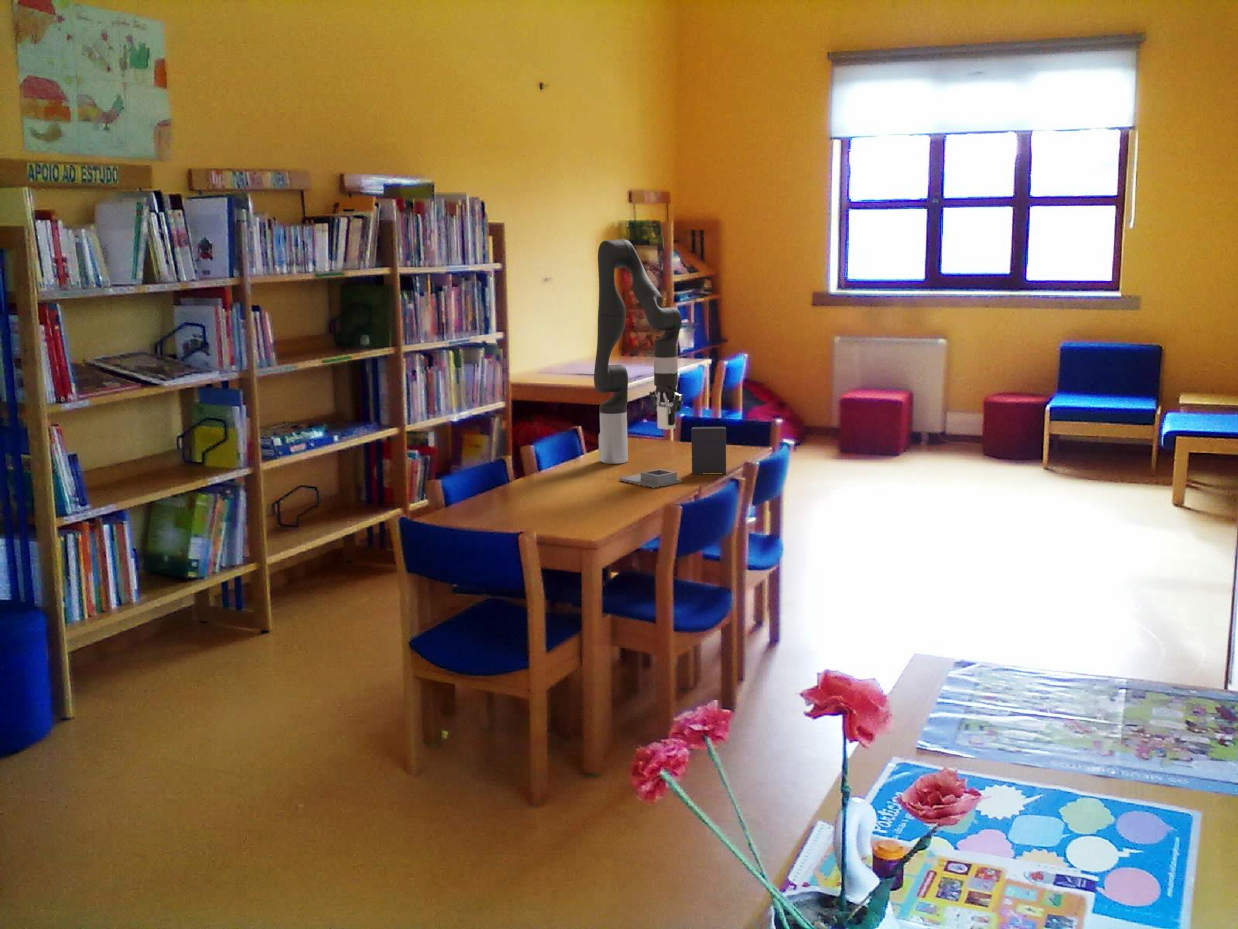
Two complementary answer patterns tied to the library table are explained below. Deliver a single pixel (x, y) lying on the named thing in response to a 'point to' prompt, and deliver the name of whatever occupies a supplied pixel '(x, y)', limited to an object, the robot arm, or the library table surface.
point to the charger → (663, 417)
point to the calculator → (708, 450)
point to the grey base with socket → (653, 478)
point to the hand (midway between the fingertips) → (666, 424)
